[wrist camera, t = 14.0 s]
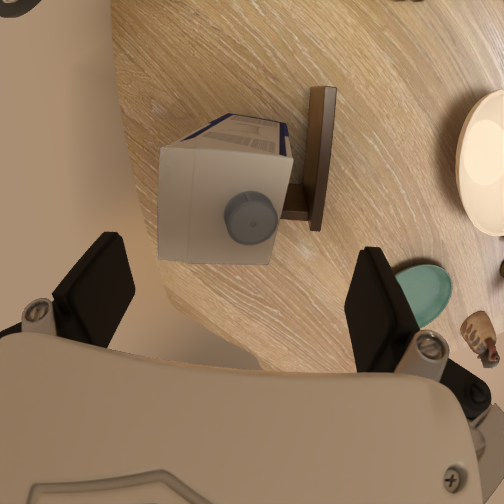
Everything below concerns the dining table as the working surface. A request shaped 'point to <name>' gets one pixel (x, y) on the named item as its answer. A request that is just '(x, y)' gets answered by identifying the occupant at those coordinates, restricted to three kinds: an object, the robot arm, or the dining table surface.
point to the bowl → (483, 164)
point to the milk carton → (223, 191)
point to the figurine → (481, 338)
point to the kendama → (502, 270)
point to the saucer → (425, 291)
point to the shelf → (314, 161)
